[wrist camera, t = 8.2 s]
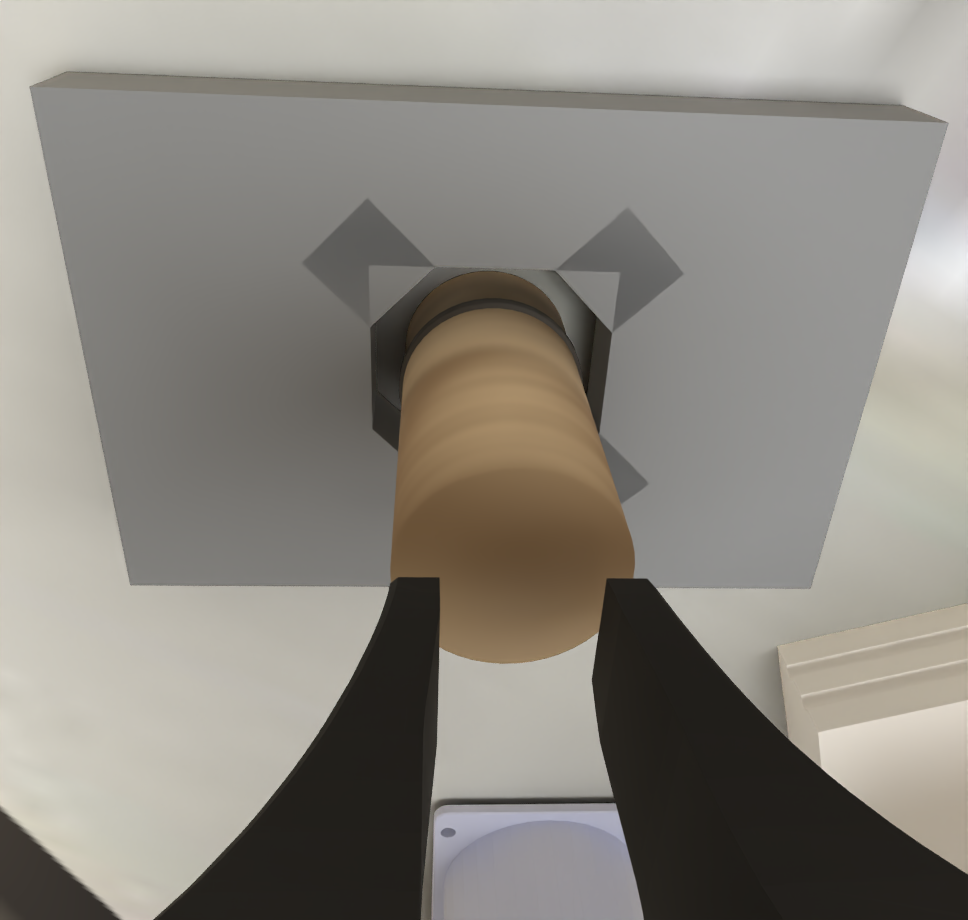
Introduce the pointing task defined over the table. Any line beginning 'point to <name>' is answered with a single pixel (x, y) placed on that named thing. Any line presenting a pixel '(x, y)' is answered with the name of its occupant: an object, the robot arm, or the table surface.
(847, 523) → the table surface
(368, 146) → the slate board
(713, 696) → the robot arm
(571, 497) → the oak peg
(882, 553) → the table surface
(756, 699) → the table surface
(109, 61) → the table surface
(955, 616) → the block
